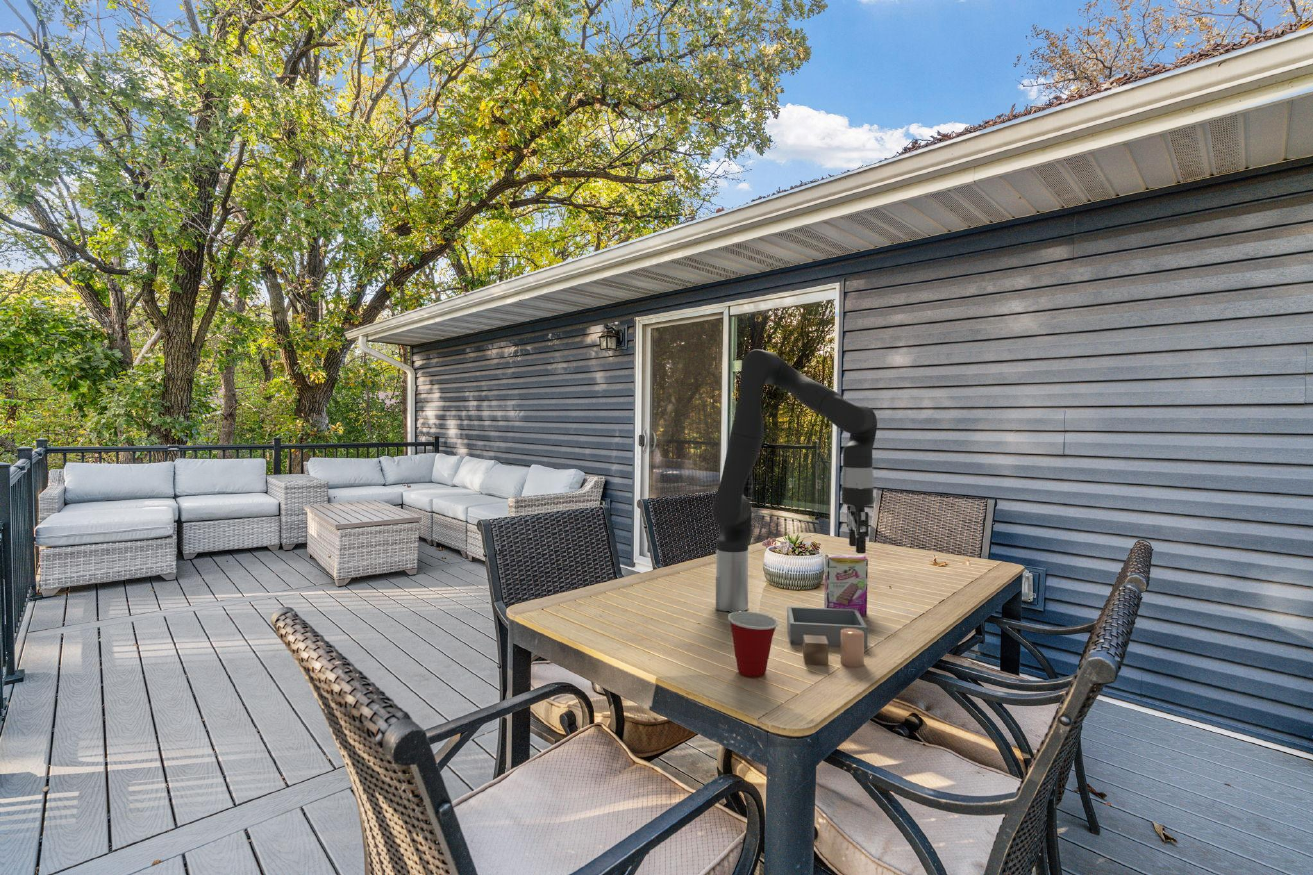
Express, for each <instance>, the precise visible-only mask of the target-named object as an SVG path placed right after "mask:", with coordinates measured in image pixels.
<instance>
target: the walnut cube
mask: <svg viewBox="0 0 1313 875" xmlns="http://www.w3.org/2000/svg"><path fill="white" fill-rule="evenodd" d="M802 646H803V647H802V650H803V651H802V653H803V654H802V657H803V661H804V665H806V666H807V665H809V666H823V667H825V666H827V667H828V666H829V646H828V641H827V639H826V636H815V635H803V644H802Z"/></svg>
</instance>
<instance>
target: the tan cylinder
mask: <svg viewBox="0 0 1313 875" xmlns="http://www.w3.org/2000/svg"><path fill="white" fill-rule="evenodd" d="M840 663H841V664H842V665H843V666H845V667H848V668H849V667H850V668H861V667H864V665H865V648H864V632H863V631H861V630H858V629H853V628H845V629H842V630H841V647H840Z"/></svg>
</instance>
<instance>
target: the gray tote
mask: <svg viewBox="0 0 1313 875" xmlns="http://www.w3.org/2000/svg"><path fill="white" fill-rule="evenodd" d="M786 628H787V633H788V638H789V644H790V645H803V635H815V636H826V639H827V641H828V647H839V648H841V630H842V629H845V628H853V629H858V630H861V631H863V632H864V649H868V626H867V624H866V623H865V621H864V619H863V616H860V614H859V612H858V610H852V609H831V608H824V607H809V606H808V607H805V606H786Z"/></svg>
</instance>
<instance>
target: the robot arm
mask: <svg viewBox="0 0 1313 875" xmlns="http://www.w3.org/2000/svg"><path fill="white" fill-rule="evenodd" d="M740 370H741V371H740V377H739V378H740V379H739V386H738V387H739V390H738V396H737V402H736V407H735V410H734V411H735V412H734V417H733V422H732V426H731V431H730V434H729V439H728V445H727V449H726V454H725V460H724V465H723V469H722V473H721V479H720V482H719V484H718V488H717V492H716V495H715V497H714V501H713V504H712V510H711V512H712V513H711V514H712V518H713V520H714V522H715V524H716V525H717V526H719V527H721V528H722V529H721V532H720V534H719V536H718V538H717V539H716V544H715V545H716V546H715V547H716V550H715V551H716V554H715V555H716V557H715V558H716V559H715V560H716V562H715V563H716V565H715V567H716V569H715V570H716V574H715V610H717V611H718V610H719V611H721V612H726V611H729V612H728V613H734V612H739V611H741V612H746V611H747V610H748V609H749V543H750V541H751V534H752V516H753V515H752V507H751V506H752V505H751V503H750V501H749V499H748V498H747V497H746V496H745V495H744V494H743V493H744V489H745V485H746V482H747V479H748V477H749V475H750V473H751V472H752V471H753V468H754V466H755V464H756V462H757V460H758V459H759V456H760V453H761V448H762V444H763V440H764V435H765V434H764V433H765V427H764V418H763V413H762V404H761V403H762V396H763V391H764V389H765V385H769V386H773V387H776V388H779V389H781V390H784V391H785V392H787V393H789V394H791V395H793V397H795V398H796V399H797V400H798V401H799V402H800V403H801V404H803V405H804V406H805V407H807V408H808V409H811V411H813V412H815V413H817V414H818V415H821V416H822V417H824V418H826V419H827V420H828V421H829V422H831V423H832V424H833V425H835V427H837V429H840V430H841V431H843V432H845V433H847V434H849V441H848V443H847V444H845V445H844V447H843V449H842V450H843V452H842V473H841V502H842V504H843V505H846V511H847V512H846V528H847V531H848V545H849V547H855V553H857V554H863V555H864V554H865V553H867V552H866V548H867V547H866V545H867V543H866V542H867V540H866V539H867V537H869V536H870V533H869V512H868V511H866V508H865V506H872V505H873V504H874V472H873V471H874V469H873V450H874V446H875V442H876V441H875V440H876V436H877V430H878V429H877V428H878V418H877V415H876V412H875V411H874V410H873V409H872V408H870V407H868V406H865V405H856V404H853V403H851V402H849V401H847V400H846V399H845V398H844V397H843V396H842V395H841V394H840V393H839V392H837V391H835V390H833V389H831V388H829V387H828V386H826V385H825V384H822V383H820V382H818V381H816V380H814V379H812V378H810V377H808V376H806V375H804V374H803V373H802V372H799V371H798V370H796V369H795V368H794V367H792V366H791V364H789V363H788V362H786V361H785V360H784V359H782V357H780V356H779V355H778V354H776V353H774V352H771V351H768V350H763V349H760V348H758V349H753V350H752V349H751V350H750V351H749V352H748V353H746V355H745V357H744V358H743V360H742V363H741V369H740Z"/></svg>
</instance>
